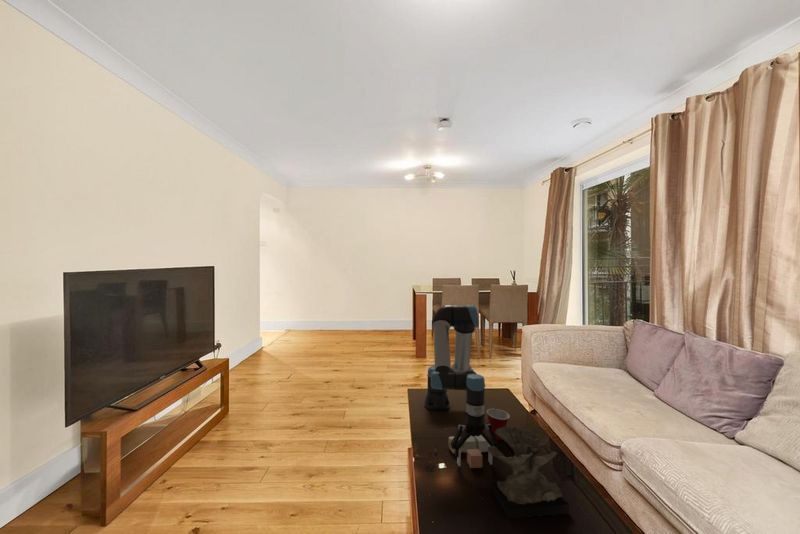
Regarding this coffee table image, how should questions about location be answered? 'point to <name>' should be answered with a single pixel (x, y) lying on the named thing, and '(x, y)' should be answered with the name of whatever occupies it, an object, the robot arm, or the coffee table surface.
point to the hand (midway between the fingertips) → (474, 463)
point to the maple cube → (454, 449)
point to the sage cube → (470, 444)
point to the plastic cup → (497, 419)
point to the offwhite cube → (481, 444)
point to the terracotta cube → (474, 458)
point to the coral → (526, 477)
